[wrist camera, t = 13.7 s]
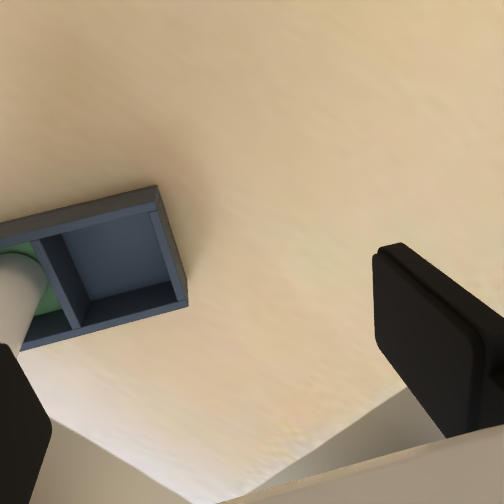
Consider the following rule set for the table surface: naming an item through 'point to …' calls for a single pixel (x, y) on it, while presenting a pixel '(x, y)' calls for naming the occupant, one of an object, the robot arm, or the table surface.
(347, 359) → the table surface
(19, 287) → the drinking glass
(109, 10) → the table surface
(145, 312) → the glass rack
